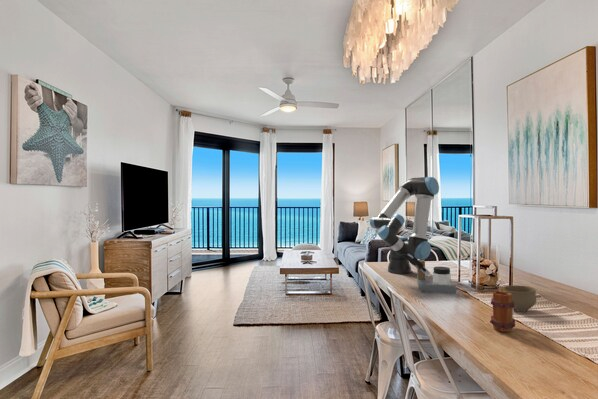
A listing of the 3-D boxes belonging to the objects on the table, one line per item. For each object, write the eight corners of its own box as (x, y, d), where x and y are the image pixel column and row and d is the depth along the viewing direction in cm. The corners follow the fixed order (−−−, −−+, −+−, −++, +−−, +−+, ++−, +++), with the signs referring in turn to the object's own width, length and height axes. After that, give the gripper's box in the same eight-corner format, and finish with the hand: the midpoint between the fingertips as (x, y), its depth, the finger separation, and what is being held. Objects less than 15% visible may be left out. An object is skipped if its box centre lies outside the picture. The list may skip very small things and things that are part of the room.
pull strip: (416, 279, 201) (416, 259, 201) (447, 281, 196) (447, 260, 196) (420, 292, 176) (420, 269, 176) (456, 294, 171) (455, 270, 171)
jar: (446, 293, 173) (446, 270, 173) (431, 290, 178) (430, 268, 178) (453, 289, 179) (452, 267, 179) (437, 287, 185) (437, 265, 185)
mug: (515, 336, 120) (515, 295, 119) (489, 332, 124) (489, 292, 124) (515, 323, 132) (514, 285, 132) (491, 319, 136) (490, 283, 136)
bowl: (506, 303, 156) (506, 282, 155) (539, 309, 146) (539, 287, 146) (498, 310, 147) (498, 287, 147) (533, 317, 138) (532, 293, 138)
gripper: (389, 249, 206) (415, 274, 208) (400, 254, 188) (429, 281, 190) (397, 240, 207) (423, 265, 208) (409, 244, 188) (438, 272, 190)
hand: (426, 273), depth 199 cm, fingers closed on pull strip, 5 cm apart
